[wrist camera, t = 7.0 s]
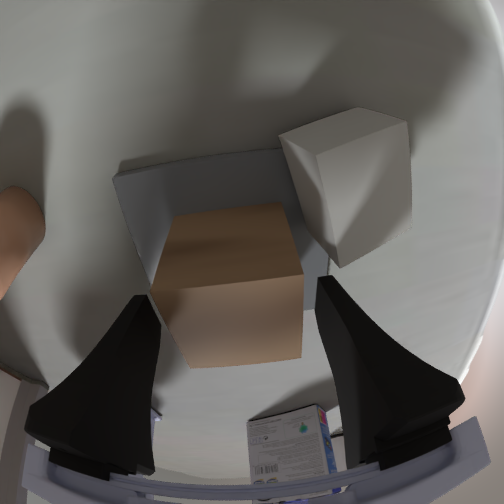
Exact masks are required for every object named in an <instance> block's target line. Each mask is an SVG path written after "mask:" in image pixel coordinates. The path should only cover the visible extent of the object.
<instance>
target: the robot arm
mask: <svg viewBox="0 0 504 504" xmlns="http://www.w3.org/2000/svg"><path fill="white" fill-rule="evenodd" d="M315 315H316V320H317V325H318V330H319V333H320V336H321V339H322V343H323V346H324V349H325V352H326V355H327V358H328V361H329V364H330V367H331V370H332V373H333V377H334V381H335V385H336V391H337V396H338V401H339V407H340V414H341V420H342V428H343V436H344V447H345V459H346V467H347V470H345V471H341V472H337V473H332V474H328V475H323V476H318V477H312V478H306V479H300V480H293V481H285V482H276V483H266V484H251V485H196V484H181V483H171V482H162V481H155V480H148V479H146V478H143V475H148V476H150V475H152V474H153V473H154V472H155V466H154V459H153V451H152V445H153V434H154V424H155V421H161V420H162V418H161V417H160V416H159V415H158V414H157V413H156V412H155V411H154V410H153V409H152V408H151V396H152V387H153V381H154V375H155V370H156V364H157V359H158V353H159V348H160V337H161V324H160V322H159V320H158V318H157V315H156V313H155V311H154V309H153V307H152V305H151V303H150V301H149V299H148V297H147V295H134V296H133V297H132V299H131V300H130V301H129V303H128V304H127V305H126V307H125V308H124V310H123V311H122V312H121V314H120V315H119V316H118V318H117V319H116V321H115V322H114V323H113V325H112V326H111V327H110V329H109V330H108V331H107V333H106V334H105V335H104V337H103V338H102V339H101V340H100V342H99V343H98V344H97V346H96V347H95V348H94V349H93V351H92V352H91V353H90V354H89V355H88V356H87V358H86V359H85V360H84V361H83V362H82V363H81V364H80V365H79V366H78V367H77V368H76V369H75V370H74V371H73V372H72V373H71V374H70V375H69V376H68V377H67V378H66V379H65V380H64V381H63V382H61V383H60V384H59V385H58V386H57V387H55V388H54V389H53V390H52V391H50V392H49V393H48V394H46V395H45V396H44V397H42V398H41V399H39V400H38V401H36V402H35V403H33V404H32V405H30V407H29V411H28V414H27V418H26V422H25V426H24V430H25V432H26V433H27V434H29V435H30V436H32V437H33V438H35V439H37V440H39V441H40V442H42V443H44V444H46V445H47V446H49V447H51V448H50V452H49V451H47V450H44V449H42V448H40V447H37V446H35V445H33V444H30V443H29V444H28V447H27V452H26V457H25V463H24V470H23V477H22V487H24V488H26V489H27V490H29V491H31V492H33V493H34V494H36V495H38V496H40V497H41V498H43V499H45V500H47V501H48V502H50V503H52V504H180V503H171V502H164V501H157V500H154V496H153V495H159V496H167V497H175V498H186V499H198V500H199V499H200V500H257V499H271V498H281V497H289V496H297V495H303V494H309V493H315V492H320V491H325V490H330V489H335V488H339V487H343V486H347V485H349V486H348V487H347V488H346V490H345V491H344V492H342V493H338V494H334V495H329V496H324V497H319V498H314V499H309V500H308V504H429V503H431V502H433V501H434V500H436V499H437V498H439V497H441V496H442V495H444V494H446V493H447V492H449V491H451V490H452V489H453V488H455V487H457V486H458V485H460V484H461V483H463V482H464V481H466V480H467V479H469V478H470V477H472V476H473V475H475V474H476V473H478V472H479V471H481V470H482V469H484V468H485V467H486V466H488V465H489V464H490V463H491V460H490V457H489V453H488V450H487V447H486V443H485V440H484V437H483V435H482V431H481V428H480V426H479V423H478V420H477V417H475V416H474V417H472V418H470V419H469V420H467V421H465V422H463V423H461V424H460V425H458V426H456V427H454V428H453V429H451V430H449V428H448V425H449V424H450V419H449V415H450V414H451V413H452V412H454V411H455V410H456V409H457V408H458V407H460V406H461V405H462V404H463V402H464V401H465V396H464V394H463V391H462V389H461V386H460V384H459V382H458V380H457V379H456V378H454V377H452V376H450V375H448V374H446V373H444V372H442V371H440V370H438V369H436V368H434V367H433V366H431V365H429V364H428V363H426V362H424V361H423V360H421V359H420V358H418V357H417V356H415V355H414V354H412V353H411V352H409V351H408V350H407V349H405V348H404V347H403V346H401V345H400V344H399V343H397V342H396V341H395V340H394V339H393V338H391V337H390V336H389V335H388V334H387V333H386V332H384V331H383V330H382V329H381V328H380V327H379V326H378V325H377V324H376V323H375V322H374V321H373V320H372V319H371V318H370V317H369V316H368V315H367V314H366V313H365V312H364V311H363V310H362V309H361V308H360V307H359V306H358V305H357V303H356V302H355V301H354V300H353V299H352V298H351V297H350V296H349V294H348V293H347V292H346V291H345V290H344V289H343V287H342V286H341V285H340V284H339V283H338V281H337V280H336V279H335V278H334V277H333V276H332V275H329V276H321V277H317V289H316V300H315Z"/></svg>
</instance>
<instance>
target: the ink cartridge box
mask: <svg viewBox="0 0 504 504" xmlns="http://www.w3.org/2000/svg"><path fill="white" fill-rule="evenodd" d="M247 437H248V450H249V463H250V476H251V484H266V483H276V482H285V481H293V480H300V479H306V478H312V477H318V476H323V475H328V474H332V473H337V467H336V462H335V457H334V452H333V447H332V442H331V437H330V433H329V427H328V423H327V418H326V412H325V411H324V410H323V409H322V408H320V407H319V406H318V405H312V406H309V407H306V408H303V409H299V410H296V411H292V412H289V413H285V414H281V415H277V416H273V417H268V418H264V419H260V420H255V421H250V422H247ZM340 491H341V487H339V488H335V489H330V490H325V491H320V492H315V493H309V494H303V495H297V496H289V497H281V498H271V499H257V500H252V504H308V500H309V499H314V498H319V497H324V496H329V495H333V494H337V493H339V492H340Z"/></svg>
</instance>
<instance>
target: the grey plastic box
mask: <svg viewBox="0 0 504 504" xmlns="http://www.w3.org/2000/svg"><path fill="white" fill-rule="evenodd" d="M278 136H279V139H280V142H281V145H282V148H283V151H284V154H285V157H286V160H287V163H288V166H289V169H290V173H291V176H292V179H293V182H294V185H295V189H296V192H297V195H298V199H299V202H300V205H301V209H302V212H303V216H304V219H305V222H306V226H307V230H308V232H309V233H310V234H311V235H312V237H313V238H314V239H315V240H316V241H317V242H318V243H319V245H320V246H321V247H322V248H323V249H324V250H325V252H326V253H327V254H328V255H329V256H330V257H331V259H332V260H333V261H334V262H335V263H336V265H337V266H338V267H339V268H342V267H344V266H346V265H348V264H349V263H351V262H353V261H355V260H357V259H358V258H360V257H362V256H364V255H366V254H367V253H369V252H371V251H373V250H374V249H376V248H378V247H380V246H381V245H383V244H385V243H386V242H388V241H390V240H392V239H393V238H395V237H397V236H398V235H400V234H402V233H403V232H405V231H407V230H408V229H410V228H411V223H412V182H411V160H410V146H409V135H408V126H407V121H405V120H402V119H399V118H396V117H393V116H390V115H386V114H383V113H379V112H376V111H372V110H368V109H365V108H361V107H356V108H353V109H350V110H347V111H344V112H341V113H338V114H335V115H332V116H329V117H326V118H323V119H320V120H317V121H315V122H312V123H309V124H306V125H304V126H301V127H298V128H296V129H293V130H291V131H288V132H285V133H283V134H280V135H278Z"/></svg>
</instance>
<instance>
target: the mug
mask: <svg viewBox="0 0 504 504" xmlns="http://www.w3.org/2000/svg"><path fill="white" fill-rule="evenodd" d="M330 437H331V442H332V447H333V452H334V457H335V462H336V467H337V472H341V471H345V470H347V467H346V459H345V447H344V436H343V433H342V434H337V435H333V436H330Z"/></svg>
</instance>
